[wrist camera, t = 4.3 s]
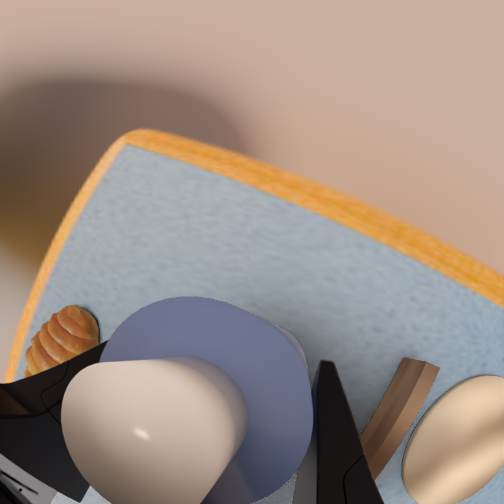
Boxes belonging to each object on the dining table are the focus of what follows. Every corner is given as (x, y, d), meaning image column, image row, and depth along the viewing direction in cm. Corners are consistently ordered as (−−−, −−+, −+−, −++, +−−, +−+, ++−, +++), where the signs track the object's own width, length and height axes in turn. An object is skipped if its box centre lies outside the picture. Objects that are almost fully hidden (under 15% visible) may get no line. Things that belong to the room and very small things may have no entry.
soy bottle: (324, 388, 14) (377, 528, 2) (238, 427, 14) (103, 563, 2) (279, 305, 16) (203, 201, 4) (197, 347, 16) (-3, 339, 4)
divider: (324, 504, 14) (327, 534, 10) (312, 500, 14) (312, 530, 10) (414, 362, 16) (440, 367, 12) (403, 357, 16) (426, 361, 12)
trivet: (523, 441, 11) (528, 443, 10) (422, 523, 11) (424, 528, 10) (497, 345, 15) (503, 345, 14) (380, 436, 15) (383, 440, 14)
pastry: (73, 291, 22) (43, 282, 19) (120, 337, 20) (89, 335, 17) (39, 368, 21) (10, 368, 17) (79, 417, 19) (49, 424, 15)
